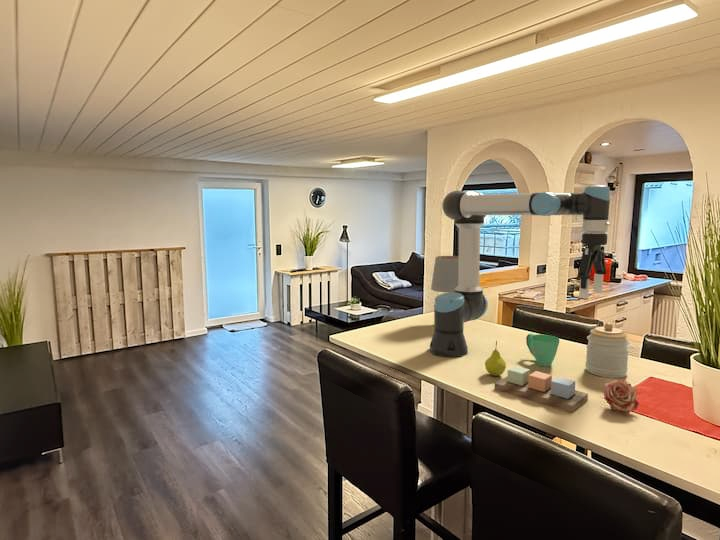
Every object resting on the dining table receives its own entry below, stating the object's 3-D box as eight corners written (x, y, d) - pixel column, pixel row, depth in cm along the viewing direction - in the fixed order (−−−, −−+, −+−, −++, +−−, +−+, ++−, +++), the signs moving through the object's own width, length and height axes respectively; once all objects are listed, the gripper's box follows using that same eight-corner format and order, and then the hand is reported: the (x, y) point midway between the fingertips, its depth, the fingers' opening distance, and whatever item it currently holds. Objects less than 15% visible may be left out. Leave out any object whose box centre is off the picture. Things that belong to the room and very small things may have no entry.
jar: (622, 367, 160) (625, 320, 158) (631, 380, 148) (635, 329, 146) (582, 364, 164) (585, 317, 162) (588, 376, 152) (591, 326, 150)
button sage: (507, 381, 143) (507, 369, 142) (514, 377, 146) (515, 365, 146) (522, 385, 139) (522, 373, 139) (529, 381, 143) (529, 369, 142)
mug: (564, 367, 162) (565, 340, 160) (541, 370, 159) (542, 342, 158) (537, 354, 176) (538, 330, 174) (516, 357, 173) (517, 332, 171)
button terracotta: (528, 387, 138) (528, 375, 137) (535, 383, 141) (536, 371, 141) (544, 392, 134) (544, 379, 134) (551, 387, 138) (551, 375, 137)
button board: (494, 389, 142) (494, 383, 142) (512, 379, 151) (512, 373, 150) (571, 412, 125) (572, 405, 125) (587, 399, 133) (587, 393, 133)
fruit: (502, 380, 150) (503, 345, 148) (482, 376, 153) (483, 342, 152) (507, 374, 155) (508, 340, 154) (487, 370, 159) (488, 338, 157)
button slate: (550, 394, 133) (551, 381, 132) (557, 389, 136) (558, 376, 136) (568, 398, 129) (568, 385, 129) (574, 393, 133) (575, 381, 132)
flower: (591, 395, 133) (598, 380, 127) (620, 388, 133) (628, 373, 128) (611, 424, 126) (618, 410, 120) (641, 417, 126) (650, 402, 121)
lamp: (430, 328, 217) (431, 259, 212) (430, 319, 235) (431, 255, 231) (470, 329, 214) (472, 259, 209) (467, 320, 232) (468, 255, 228)
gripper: (594, 234, 137) (589, 302, 140) (618, 231, 154) (614, 291, 157) (568, 234, 142) (565, 299, 145) (595, 231, 160) (591, 289, 162)
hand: (590, 295), depth 151 cm, fingers open, 13 cm apart
